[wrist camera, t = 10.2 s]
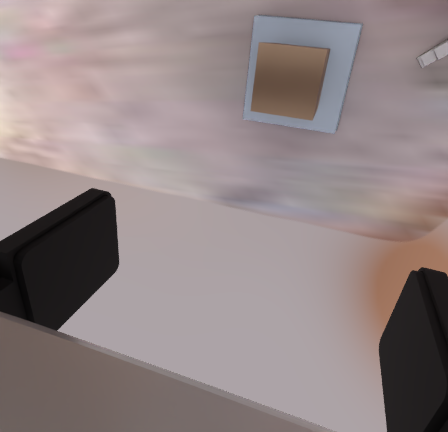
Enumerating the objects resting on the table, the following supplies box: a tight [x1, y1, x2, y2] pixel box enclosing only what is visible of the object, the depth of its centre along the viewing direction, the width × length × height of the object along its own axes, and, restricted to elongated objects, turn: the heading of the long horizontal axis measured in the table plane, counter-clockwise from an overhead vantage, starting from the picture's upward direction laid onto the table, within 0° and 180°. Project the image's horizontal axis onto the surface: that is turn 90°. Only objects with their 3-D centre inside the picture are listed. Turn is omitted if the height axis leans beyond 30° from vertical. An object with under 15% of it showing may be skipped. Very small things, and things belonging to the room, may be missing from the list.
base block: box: [243, 15, 363, 134], centre depth 32 cm, size 9×9×3 cm
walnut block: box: [250, 42, 330, 121], centre depth 29 cm, size 5×5×6 cm
